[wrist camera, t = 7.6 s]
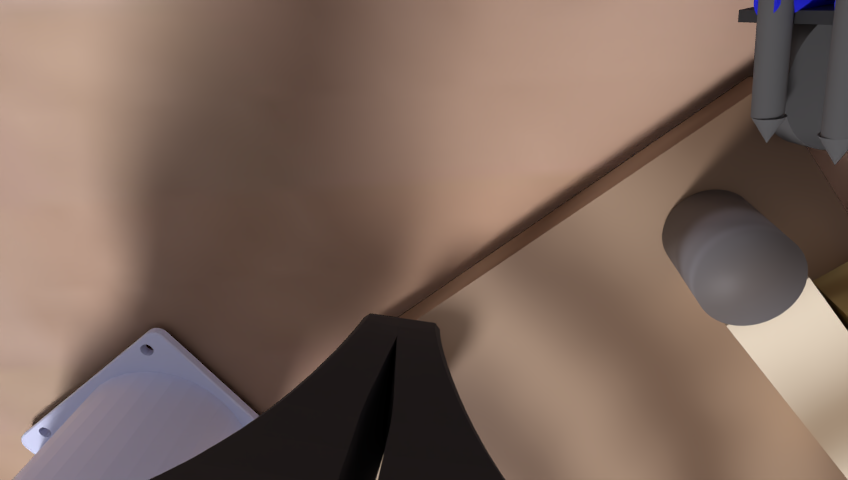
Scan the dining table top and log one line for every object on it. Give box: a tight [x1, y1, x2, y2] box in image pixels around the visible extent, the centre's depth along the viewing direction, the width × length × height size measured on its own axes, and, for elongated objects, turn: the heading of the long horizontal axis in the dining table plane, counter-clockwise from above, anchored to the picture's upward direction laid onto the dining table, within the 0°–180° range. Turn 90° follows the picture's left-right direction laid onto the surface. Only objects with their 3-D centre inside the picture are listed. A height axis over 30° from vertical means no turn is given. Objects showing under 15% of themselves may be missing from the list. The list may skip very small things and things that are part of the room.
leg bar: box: [662, 189, 848, 479], centre depth 18 cm, size 11×3×3 cm, turn 41°
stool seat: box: [376, 76, 848, 480], centre depth 21 cm, size 17×17×5 cm
